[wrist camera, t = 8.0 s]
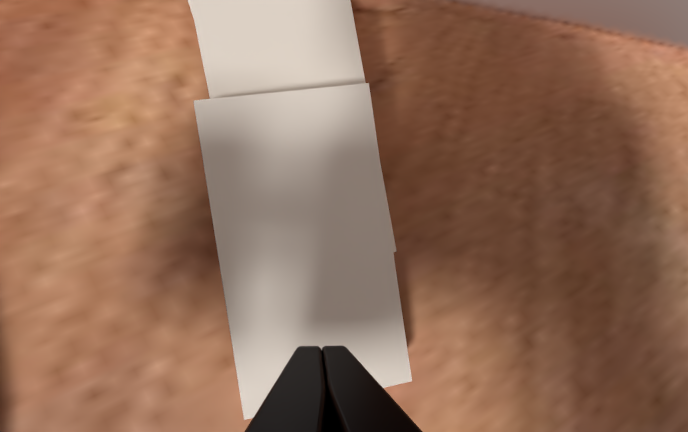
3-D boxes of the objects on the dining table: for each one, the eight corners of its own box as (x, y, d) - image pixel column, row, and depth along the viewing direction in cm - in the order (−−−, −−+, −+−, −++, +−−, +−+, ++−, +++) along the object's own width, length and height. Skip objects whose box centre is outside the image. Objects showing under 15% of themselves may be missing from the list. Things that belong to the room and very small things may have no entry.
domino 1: (412, 381, 14) (368, 82, 14) (244, 420, 13) (193, 100, 13) (396, 364, 15) (357, 96, 15) (245, 396, 14) (200, 112, 14)
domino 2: (396, 251, 15) (346, -19, 15) (247, 284, 14) (189, -3, 14) (383, 247, 17) (338, 3, 17) (247, 276, 16) (196, 19, 16)
